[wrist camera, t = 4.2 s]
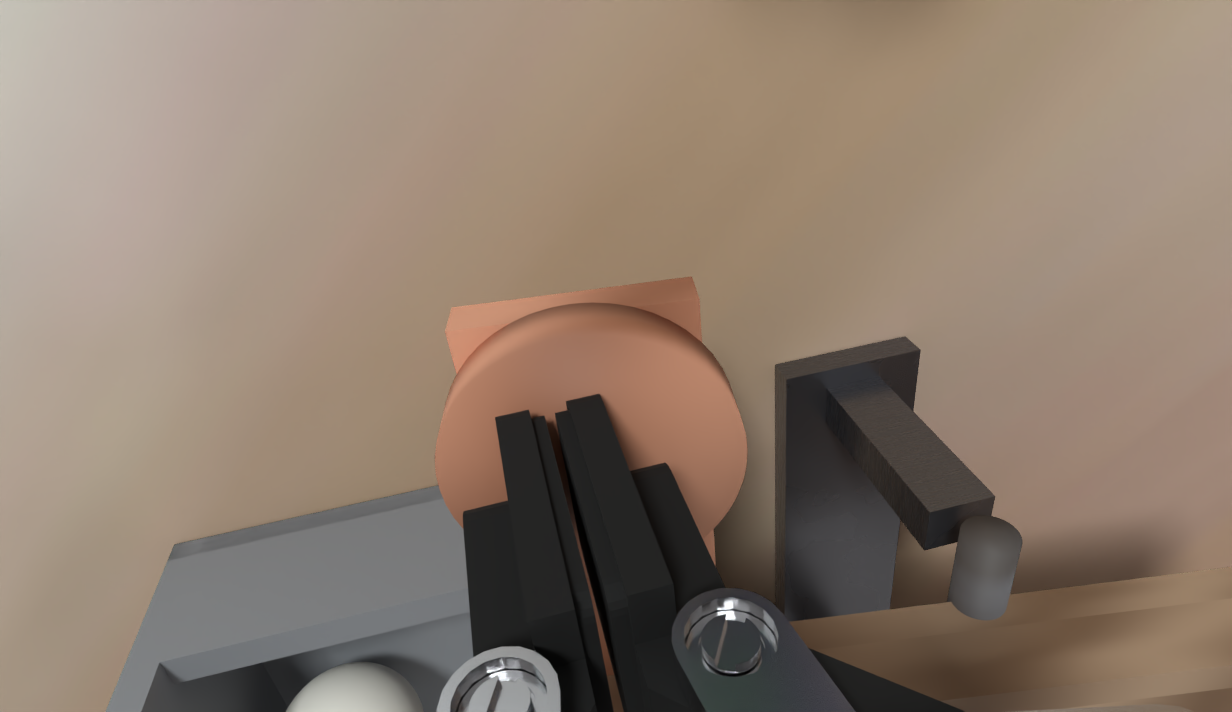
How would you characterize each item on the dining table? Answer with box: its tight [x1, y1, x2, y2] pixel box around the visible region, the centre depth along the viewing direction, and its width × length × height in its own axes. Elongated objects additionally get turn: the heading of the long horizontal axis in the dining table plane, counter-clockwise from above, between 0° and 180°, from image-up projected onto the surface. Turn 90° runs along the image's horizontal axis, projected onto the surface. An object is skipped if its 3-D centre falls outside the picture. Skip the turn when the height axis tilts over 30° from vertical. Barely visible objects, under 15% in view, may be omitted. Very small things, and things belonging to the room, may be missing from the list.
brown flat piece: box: [435, 277, 1232, 712], centre depth 17 cm, size 21×21×3 cm
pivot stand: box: [775, 337, 995, 622], centre depth 23 cm, size 4×15×6 cm, turn 7°
